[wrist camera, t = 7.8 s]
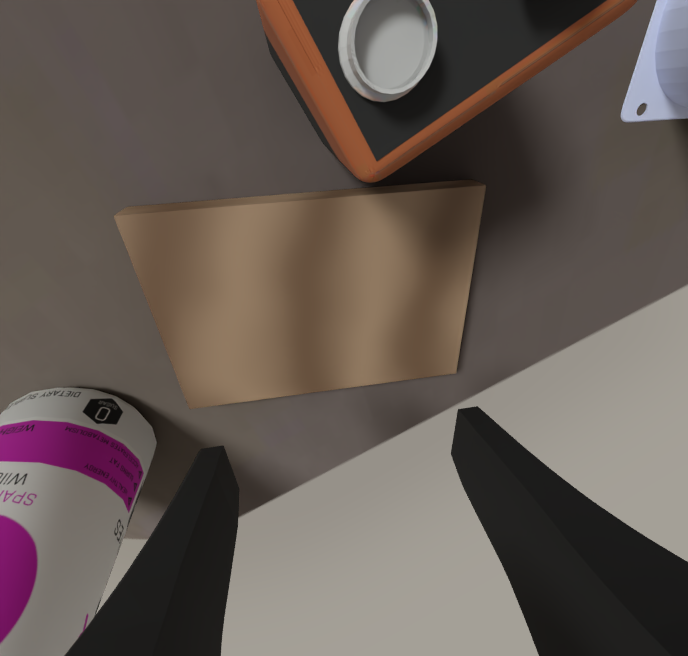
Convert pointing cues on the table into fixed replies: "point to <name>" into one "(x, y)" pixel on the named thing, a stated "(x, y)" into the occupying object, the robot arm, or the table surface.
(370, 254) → the wooden flat block
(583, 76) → the table surface
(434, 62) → the battery
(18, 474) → the supplement can
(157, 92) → the table surface
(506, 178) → the table surface
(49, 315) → the table surface
